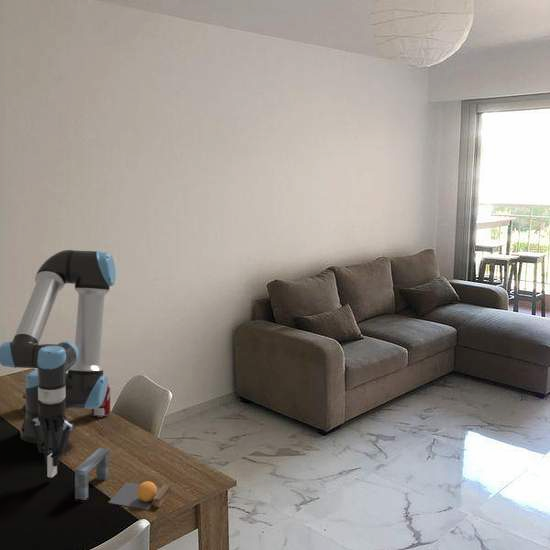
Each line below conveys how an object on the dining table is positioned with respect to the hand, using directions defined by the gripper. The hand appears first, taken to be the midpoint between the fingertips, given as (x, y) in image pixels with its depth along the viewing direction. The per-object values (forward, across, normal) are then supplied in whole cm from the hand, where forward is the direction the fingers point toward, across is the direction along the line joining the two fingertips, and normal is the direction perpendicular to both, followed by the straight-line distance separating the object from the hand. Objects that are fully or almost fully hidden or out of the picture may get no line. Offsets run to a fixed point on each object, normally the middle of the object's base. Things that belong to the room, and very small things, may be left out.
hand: (52, 475), depth 183 cm
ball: (-1, +31, -2) cm, 31 cm away
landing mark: (+2, +27, 0) cm, 27 cm away
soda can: (+2, -10, +50) cm, 51 cm away
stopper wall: (+2, +34, 0) cm, 35 cm away
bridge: (+2, +13, 0) cm, 13 cm away
